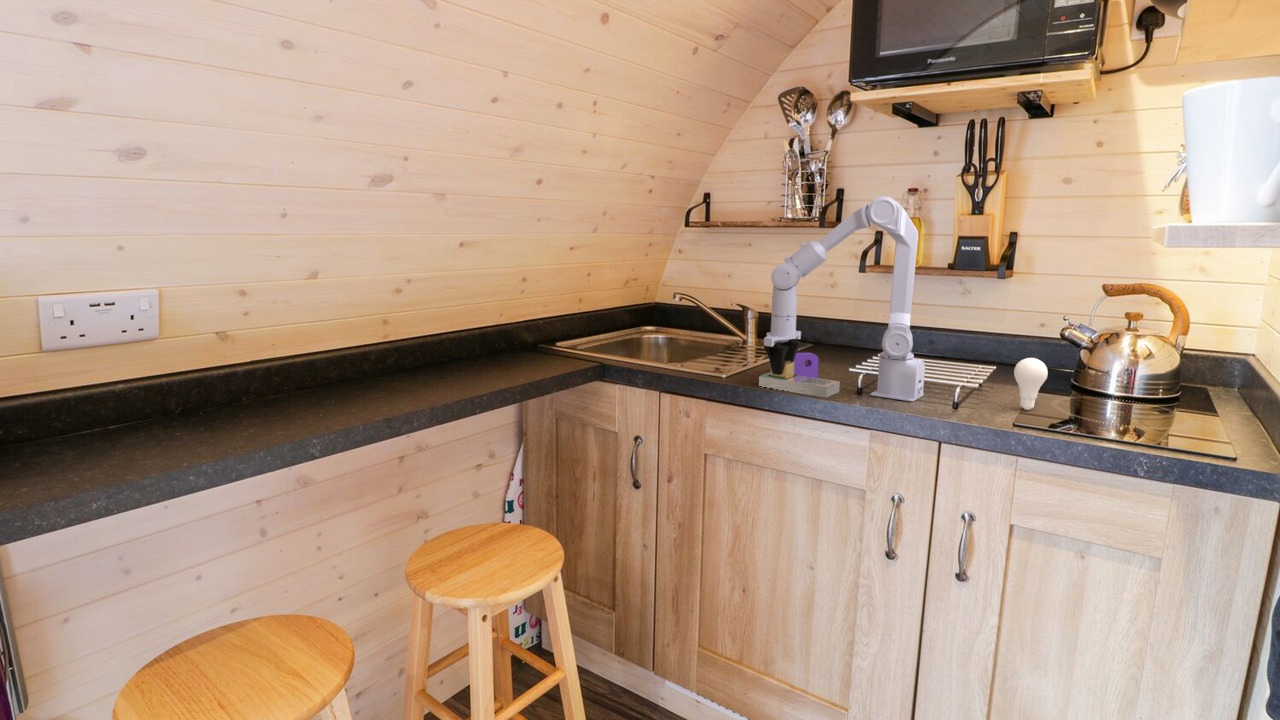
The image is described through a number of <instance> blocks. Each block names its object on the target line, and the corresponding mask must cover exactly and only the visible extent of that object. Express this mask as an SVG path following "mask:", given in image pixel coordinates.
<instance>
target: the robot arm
mask: <svg viewBox="0 0 1280 720" xmlns="http://www.w3.org/2000/svg"><path fill="white" fill-rule="evenodd" d="M872 224H873V226H876V227H878V228H880V229H882V230H883V231H885V232H886V233H887V234H888V235H889V236H890V238H892V239H893V240H894V241H895V249H894V261H893V262H894V263H893V270H892V283H891V295H890V302H889V303H890V306H889V315H888V316H889V317H888V326H887V327H886V330H885V331H884V332H883V336H882V341H881V347H882V350H883V351H882V352H880V353H879V357H878V373H877V389H876V390H875V391H873V392H871V393H870V396H873V397H878V398H886V399H893V400H899V401H904V402H911V403H913V402H915V401H917V400H918V399H920V398H922V397H923V396H925V394H924V387H925V386H924V385H925V373H926V365H925V361H924V360H923V359H917V358H915V355H914V353H912V349H913V348H914V347H913V345H914V342H913V339H914V338H913V334H912V331H911V329H910V328H911V316H912V315H911V314H912V305H913V304H912V303H913V296H914V284H915V276H916V275H915V272H916V264H917V254H918V253H917V252H918V243H919V231H918V230H917V227H916V225H914V222H913V221H912V220H911V218H910V216H909V215H908V213H907V212H906V210H905V208H904V207H903V206H902V205H901V204H900V203H898V202H897V201H896V200H895V199H893V198H892V197H889V196H885V195H883V196H879V197H876V198H874V199H873V200H872V201H870V203H869V204H866V205H864V206H861V207H860V208H859V209H857V210H856V211H854V212H852V213H850V214H849V215H848V216H847V217H846V218H845V219H843V220H842V222H839V224H838V225H836V226H835V227H834V228H833V229H832V230H831V231H829V232H828V233H826V235H824V236H823V238H821V239H820V240H818V241H817V240H809V241H808V242H806V241H805V242H803V243H800V245H799V246H800V248H799V249H798V250H796V251H795V252H793V254H792V255H791V256H789V257H788V256H786V257H785V258H784V259H783V261H784V263H779V264H778V265H776V266H775V268H774V269H773V271H772V272H771V276H770V281H771V283H772V284H773V286H772V296H771V319H770V320H771V321H770V331H768V332H766V336H765V337H764V338H763V349H764V351H765V352H766V354H767V356H768V360H769V364H770V371H771V370H772V374H777V375H781V374H782V371H783V364H784V360H788V361H792V362H794V358H795V355H796V353H798V350H799V349H800V348H801V346H802V341H798V340H801V336H802V331H801V330H797V311H798V310H797V308H798V295H797V291H798V287H797V286H798V285H797V284H798V283H799V282H800V280H801V278H806V277H807V276H808V275H809V274H811V273H812V272H813V271H815V270H816V269H817V268H818V267H820V266H821V265H822V264H824V263H825V262H826V261H827V258H828V257H827V256H828V253H829V252H830V251H831V250H832V249H833V248H835V247H836V246H837V245H839V244H840V243H842V242H843V241H844V240H846V239H847V238H849V237H850V236H851V235H853V233H855V232H856V231H858V230H862V229H866V228H870V227H872V226H871V225H872Z"/></svg>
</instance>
